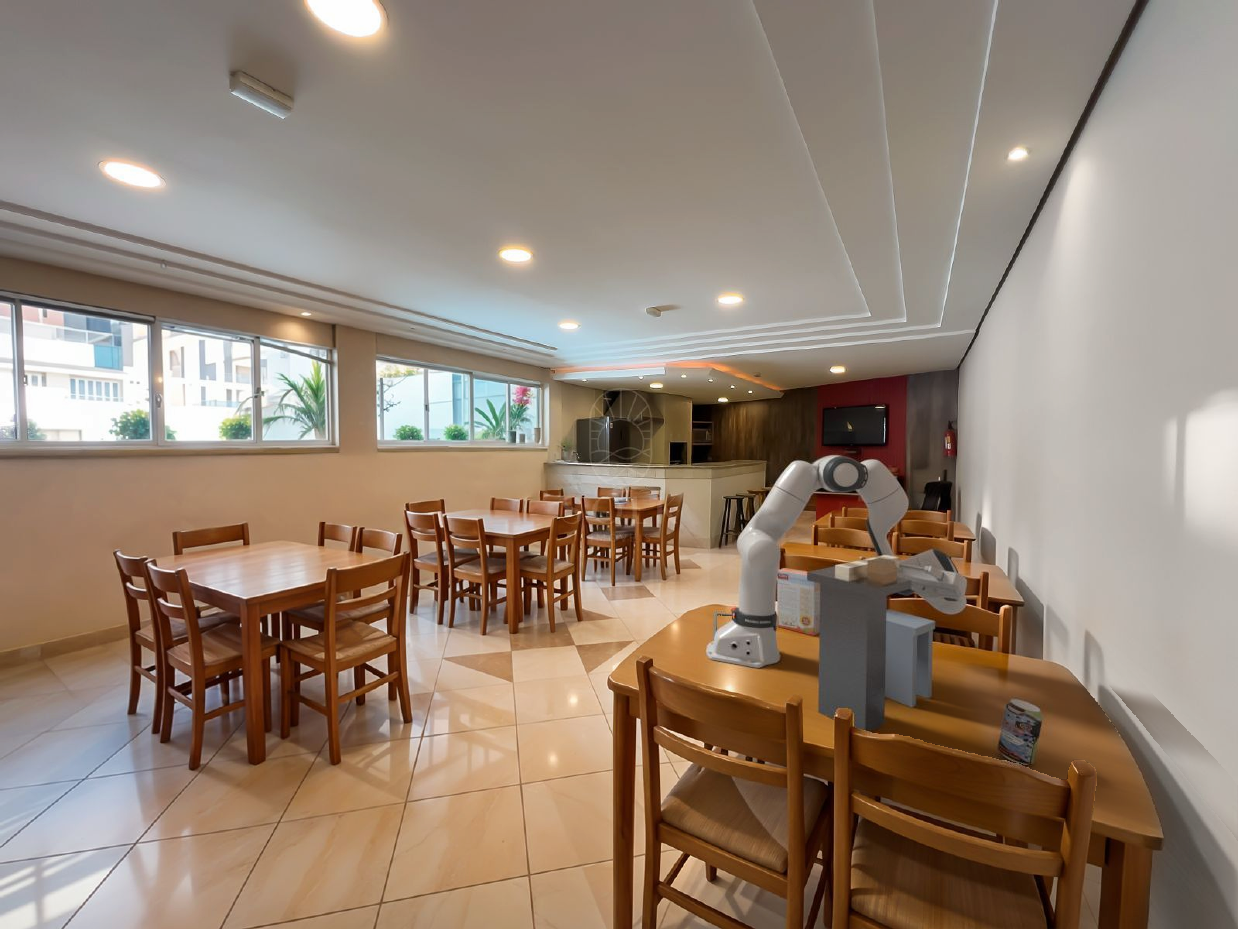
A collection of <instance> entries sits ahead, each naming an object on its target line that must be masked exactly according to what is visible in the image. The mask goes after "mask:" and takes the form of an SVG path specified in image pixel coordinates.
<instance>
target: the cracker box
mask: <svg viewBox="0 0 1238 929" xmlns="http://www.w3.org/2000/svg"><path fill="white" fill-rule="evenodd" d="M807 572H808V571H806V570H799V569H793V568H790V567H789V568H787V567H783V568H781V569H780V568H779V569H778V576H777V585H776V590H777V592H776V593H777V596H776V598H777V599H776V600H777V601H776V602H777V603H776V606H777V608H776V613H777V628H782V629H785V630H790V631H793V632H797V633H800V634H805V635H808V636H812V637H814V636H816V635H818V634H819V632H820V583H816V582H812V581H808V580H807Z"/></svg>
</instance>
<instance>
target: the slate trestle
mask: <svg viewBox="0 0 1238 929" xmlns="http://www.w3.org/2000/svg"><path fill="white" fill-rule="evenodd" d="M935 629H936V621H935V620H931V619H928V618H924V617H922V616H921V617H920V616H917V615H913V614H910V613H905V612H903V611H902V612H901V611H898V610H893V609H890V608H888V609H887V612H886V665H885V698H887V699H890V700H892V701H895V702H898V703H900V704H902V705H905V706H906V707H910V708H913V707H915V706H917V696H920V697H922V698H925V699H930V698H932V687H933V685H932V684H933V683H932V681H933V680H932V679H933V646H934V645H933V640H934V639H933V637H934V634H933V633H934V630H935Z"/></svg>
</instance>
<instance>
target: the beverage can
mask: <svg viewBox="0 0 1238 929" xmlns="http://www.w3.org/2000/svg"><path fill="white" fill-rule="evenodd" d="M1043 719H1044V718H1043V715H1042V713H1041V708H1039V707H1038V706H1036V705H1035V704H1033V703H1030V702H1029V701H1025V700H1023V699H1017V698H1011V699H1010V701H1009V702H1007V703H1006V704H1005V709H1004V713H1003V719H1002V723H1001V728H1000V729H1001V730H1000V734H999V740H998V744H997V749H998V751H999V752H1000V754H1001V755H1002V756H1003V757H1004V758H1005V759H1007V760H1009V761H1011V762H1013V763H1015V762H1016V764H1018V763H1021V764H1020V765H1022V764H1023V765H1022V766H1028V765H1033V764H1034V763H1035V759H1036V754H1037V748H1038V743H1039V738H1040V733H1041V728H1042V725H1043Z"/></svg>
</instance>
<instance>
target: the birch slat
mask: <svg viewBox="0 0 1238 929" xmlns="http://www.w3.org/2000/svg"><path fill="white" fill-rule="evenodd" d="M878 558H882V559H887V560H893V561H895V570H897V569H899V561H900V556H895V555H894V556H889V555H883V556H878V555H877V556H874V557H869V558H864V559H859V560H855V561H850V562H845V563H840V564H835V565H834V566H835V578H837V579H841V580H846V581H852V580H856V579H860V578H864V577H867V567H868V560H873V559H878Z"/></svg>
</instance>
